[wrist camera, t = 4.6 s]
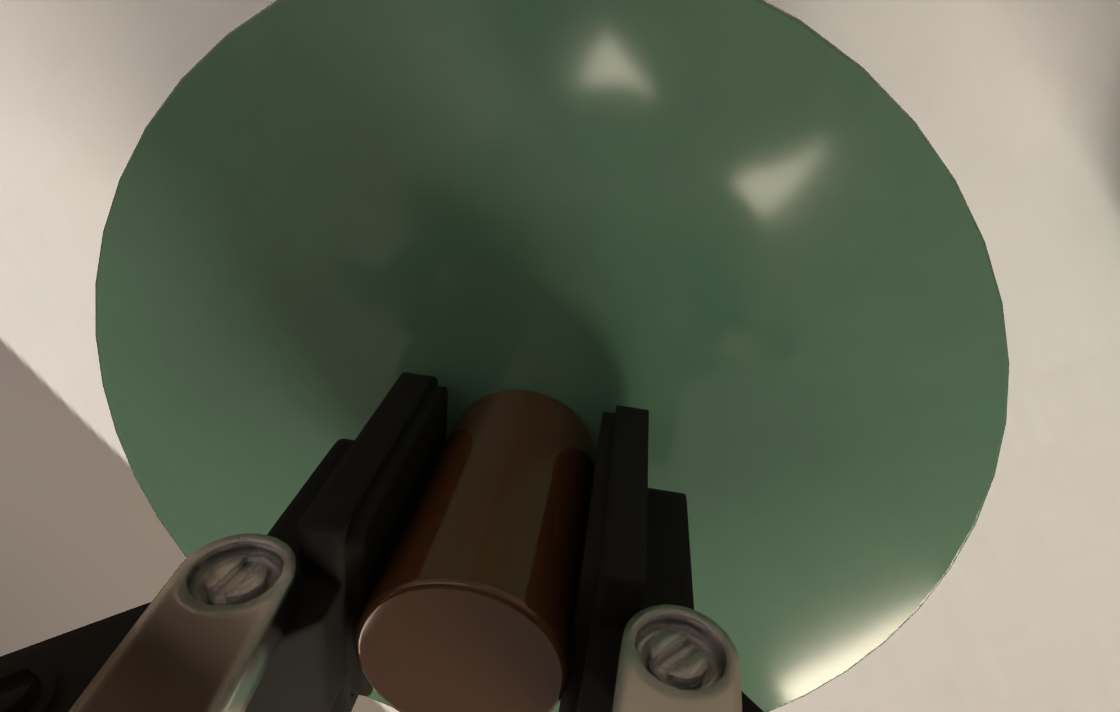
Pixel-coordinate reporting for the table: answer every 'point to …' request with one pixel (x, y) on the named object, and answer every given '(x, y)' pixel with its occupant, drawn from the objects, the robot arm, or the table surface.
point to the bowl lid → (562, 318)
